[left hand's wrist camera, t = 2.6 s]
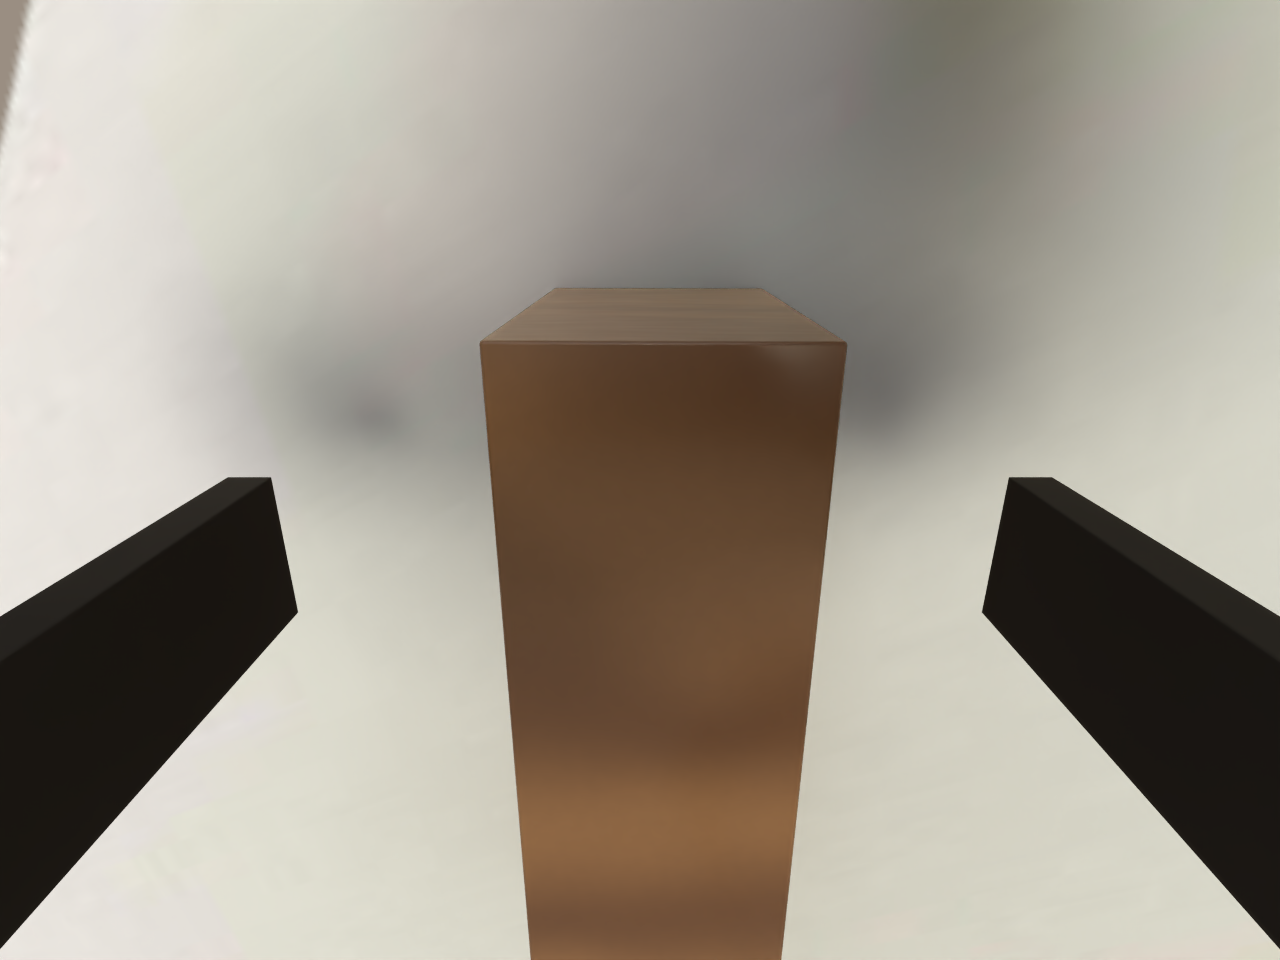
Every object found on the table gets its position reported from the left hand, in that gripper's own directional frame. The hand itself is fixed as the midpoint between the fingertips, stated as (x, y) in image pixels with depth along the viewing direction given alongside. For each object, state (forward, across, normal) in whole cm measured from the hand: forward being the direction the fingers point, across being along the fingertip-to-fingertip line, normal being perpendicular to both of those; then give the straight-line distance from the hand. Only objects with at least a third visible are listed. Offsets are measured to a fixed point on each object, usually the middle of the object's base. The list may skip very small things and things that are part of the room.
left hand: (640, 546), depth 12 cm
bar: (+8, 0, -7) cm, 10 cm away
